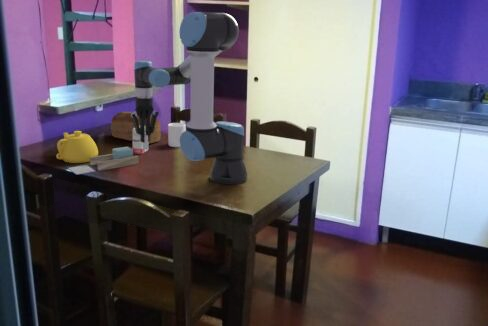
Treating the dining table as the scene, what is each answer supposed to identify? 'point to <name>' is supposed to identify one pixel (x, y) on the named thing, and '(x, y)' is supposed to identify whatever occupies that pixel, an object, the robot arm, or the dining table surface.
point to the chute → (112, 161)
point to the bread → (130, 127)
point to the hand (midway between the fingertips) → (145, 148)
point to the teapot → (76, 148)
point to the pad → (81, 169)
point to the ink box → (137, 143)
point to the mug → (175, 133)
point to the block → (122, 152)
